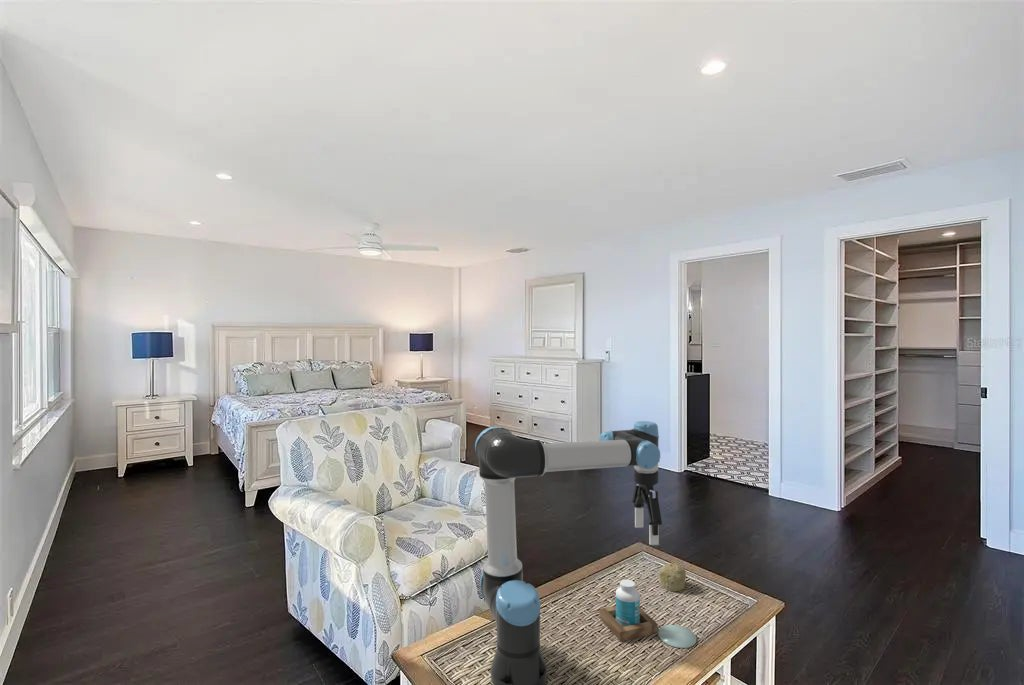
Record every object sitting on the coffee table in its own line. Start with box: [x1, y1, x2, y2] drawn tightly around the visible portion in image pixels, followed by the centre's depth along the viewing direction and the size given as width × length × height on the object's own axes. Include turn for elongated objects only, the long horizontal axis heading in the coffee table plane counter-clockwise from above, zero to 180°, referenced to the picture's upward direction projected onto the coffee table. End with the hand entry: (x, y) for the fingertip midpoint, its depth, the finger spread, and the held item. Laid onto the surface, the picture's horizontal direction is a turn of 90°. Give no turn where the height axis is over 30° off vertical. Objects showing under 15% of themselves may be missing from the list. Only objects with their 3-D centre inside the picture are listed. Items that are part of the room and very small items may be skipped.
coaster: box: [657, 624, 697, 649], centre depth 152 cm, size 11×11×1 cm
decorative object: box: [658, 562, 687, 593], centre depth 182 cm, size 9×10×10 cm
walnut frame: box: [598, 605, 659, 642], centre depth 158 cm, size 13×13×3 cm
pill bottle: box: [615, 579, 641, 627], centre depth 158 cm, size 8×7×14 cm
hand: (646, 535), depth 162 cm, fingers open, 13 cm apart
